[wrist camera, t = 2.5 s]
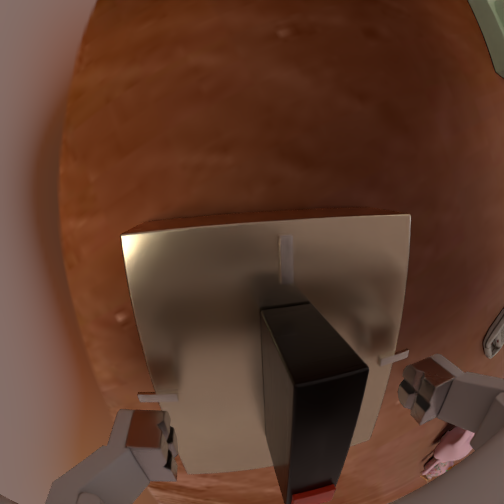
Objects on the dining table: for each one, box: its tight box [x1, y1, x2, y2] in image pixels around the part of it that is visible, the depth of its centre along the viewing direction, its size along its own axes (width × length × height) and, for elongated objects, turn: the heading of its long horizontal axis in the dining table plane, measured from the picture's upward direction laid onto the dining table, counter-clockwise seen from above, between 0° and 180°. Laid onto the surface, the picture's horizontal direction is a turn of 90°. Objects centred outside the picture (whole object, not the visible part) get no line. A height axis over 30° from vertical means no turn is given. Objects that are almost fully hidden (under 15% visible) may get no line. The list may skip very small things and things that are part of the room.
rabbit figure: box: [421, 426, 475, 483], centre depth 15 cm, size 6×6×15 cm
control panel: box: [120, 207, 411, 474], centre depth 10 cm, size 11×10×3 cm
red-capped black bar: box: [261, 304, 369, 504], centre depth 7 cm, size 6×2×4 cm, turn 3°
